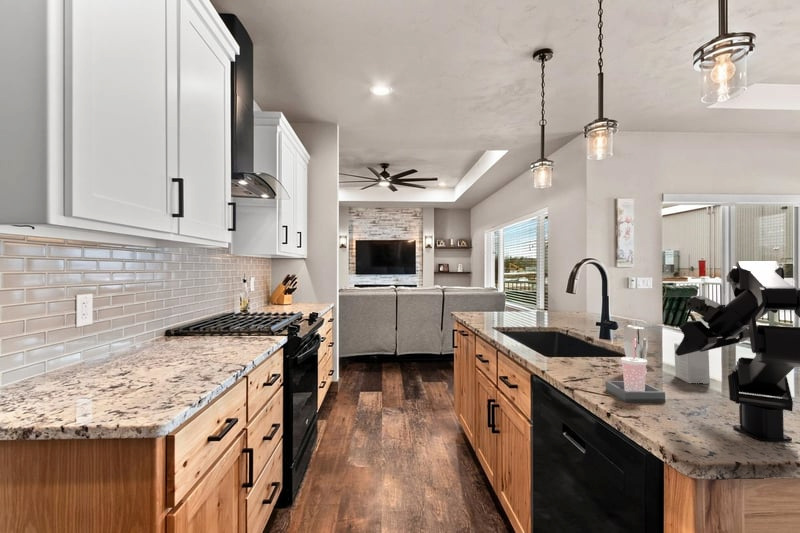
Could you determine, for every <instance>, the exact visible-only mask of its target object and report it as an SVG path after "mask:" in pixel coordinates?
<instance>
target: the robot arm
mask: <svg viewBox="0 0 800 533" xmlns="http://www.w3.org/2000/svg"><path fill="white" fill-rule="evenodd" d="M735 264H736V265H735V266H732V267H731V270H730V271H728V273H727V275H726V283H729V285H730V286H731V289H732V293H733V295H734V298H733V299H732V300H731V301H729V302H728V303H727V304H721V303H719V302H716V301H715V300H712V299H710V298H709V297H706V296H703V295H692V296H690V297H688V299H687V300H685V304H686V307H685V309H687V310H688V311H692V312H694V313H696V314H698V315H700V316H703V317H701V319H702V320H703V322H705V323H707V326H706V325H705V324H704V323H703V322H702V321H701V320H695V319H694V320H687V321H684V322H683V323H682V324H681V325H679V329H680V330H681V333H682V334H683V338H682V340H681V342H679V343H680V345H679V347H678V348H677V350H676V351H675V350H674V354H675V353H676V354H677V355H678V356H681V355H685V354H689V353H693V352H696V351H700V352H703V351H707V350H709V351H710V350H714V349H720V348H723V347H728V346H732V345H736V344H739V343H742V342H746V341H747V340H748V339H749V340H750V341H749V342H750V348H751V352H752V354H755V356H754V357H753V358H752V357H739V358H738V360H737V361H736V364H735V366H734V369H731V370H730V373H729V374H728V375H727V383H728V392H729V398H728V399H729V401H731V402H733V403H735V404H737V405H738V406H739V407H738V409H739V410H738V412H739V424H734V425H732V428H733V429H735V430H736V431H739V432H741V433H743V434H745V435H747V436H749V437H752V438H753V439H755V440H757V441H760V442H761V441H762V442H763V441H764V442H765V441H766V442H767V441H768V442H774V441H775V442H777V441H778V442H779V441H780V442H781V441H782V442H784V441H785V442H787V441H789V442H791V441H793V437H791V436H789V435H787V434H784V432H785V431H784V428H785V427H784V411H788V412H793V407H794V406H793V405H794V402H793V397H792V394H791V392H792V391H791V388H790V385H789V380H788V377H787V376H788V374H790V372H792V371H793V370H794V369H795V368H800V326H787V325H786V326H784V325H782V326H781V325H767V324H766V325H763V324H759V325H757V321H758V320H760V319H761V318H763V317H764V316H765V315H767V314H768V313H770V312H772V313H774V314H777V313H778V311H794V313H795V315H796V316H797V317H798V318H799V319H800V287H795V286H792V285H791V284H790V283H789V282H788V281H786V280H785V270H784V267H783V266H781V265H780V264H779V262H778V261H776V260H770V261H769V260H765V261H764V260H762V261H758V260H757V261H737V262H736V263H735Z"/></svg>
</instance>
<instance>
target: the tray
mask: <svg viewBox="0 0 800 533" xmlns="http://www.w3.org/2000/svg"><path fill="white" fill-rule="evenodd" d="M605 391H607V392H608V393H610V394H611V395H613V396H615V397H616V398H618V399H619V400H621V401H623V402H624V403H666V392H665V391H664V390H661V389H659V388H657V387H655V386H653V385H651V384H649V383H647V382H645V391H632V392H627V391H625V389H624V380H606V381H605Z"/></svg>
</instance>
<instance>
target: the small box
mask: <svg viewBox="0 0 800 533" xmlns="http://www.w3.org/2000/svg"><path fill="white" fill-rule="evenodd" d="M680 343H681V342H678V343H674V347H673V348H674V349H673V350H674V373H675V375H674V376H675V377H676V378H678V379H680V380H682V381H684V382H685V383H687V384H691V383H696V385H700V384H699V383H703V384H704V385H710V384H711V383H710V382H711V381H710V380H711V379H710V355H709V353H710V350H707V351H703V352H700V351H696V352H693V353H689V354H685V355H681V356H678V355H677V354H676V353H675V351H676V350H677V348H678V347H679V345H680ZM697 383H698V384H697ZM703 384H702V385H703Z"/></svg>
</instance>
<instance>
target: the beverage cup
mask: <svg viewBox="0 0 800 533" xmlns="http://www.w3.org/2000/svg"><path fill="white" fill-rule="evenodd" d="M620 362H621V365H622V376H623V381H624V389H625V391H627V392H632V391H645V383H646V376H647V375H646V370H647V365H648V360H647V358H646V359H642V358H637V357H635V341H633V357H626V356H623V357H621V358H620Z"/></svg>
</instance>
